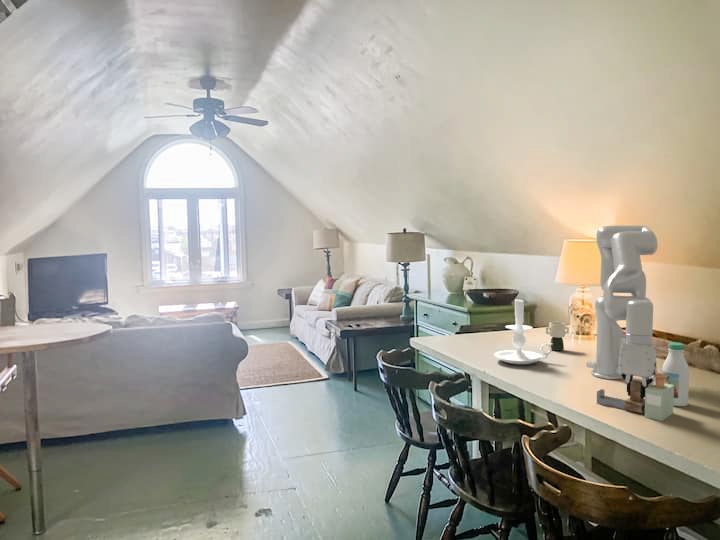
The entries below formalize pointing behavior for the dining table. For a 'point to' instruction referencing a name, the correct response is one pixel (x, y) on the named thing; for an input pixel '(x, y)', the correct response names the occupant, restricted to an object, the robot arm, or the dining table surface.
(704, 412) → the dining table surface
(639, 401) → the carriage
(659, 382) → the gauge plunger
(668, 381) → the milk bottle
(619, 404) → the rail
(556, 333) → the character mug
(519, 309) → the candlestick
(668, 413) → the cabinet
